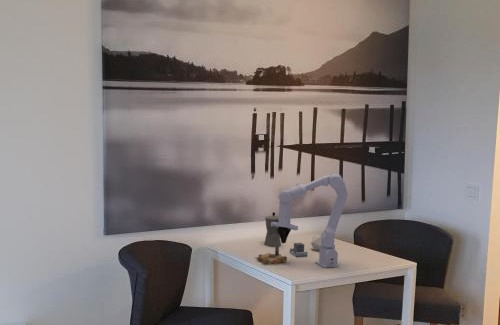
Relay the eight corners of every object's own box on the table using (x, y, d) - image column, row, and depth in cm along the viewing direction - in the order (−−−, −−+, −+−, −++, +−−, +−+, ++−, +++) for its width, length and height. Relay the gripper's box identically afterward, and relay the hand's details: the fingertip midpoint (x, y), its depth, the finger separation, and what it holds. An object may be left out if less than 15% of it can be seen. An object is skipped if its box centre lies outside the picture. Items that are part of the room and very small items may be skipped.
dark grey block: (303, 254, 290) (304, 244, 289) (296, 254, 289) (297, 244, 288) (300, 252, 294) (301, 242, 293) (293, 252, 292) (294, 243, 292)
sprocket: (292, 259, 281) (292, 248, 280) (277, 265, 269) (277, 254, 268) (267, 254, 288) (267, 243, 288) (251, 260, 276) (252, 249, 276)
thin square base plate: (289, 263, 274) (289, 263, 274) (264, 265, 270) (264, 264, 270) (279, 256, 287) (279, 255, 287) (254, 257, 283) (254, 257, 283)
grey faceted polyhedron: (322, 254, 297) (332, 238, 299) (308, 245, 298) (318, 229, 301) (320, 256, 305) (329, 240, 307) (306, 247, 306) (315, 232, 308)
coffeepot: (259, 243, 315) (260, 210, 313) (273, 241, 320) (274, 209, 318) (273, 249, 302) (274, 215, 300) (288, 247, 306) (289, 214, 305)
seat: (307, 256, 288) (307, 252, 288) (296, 257, 286) (296, 252, 286) (300, 252, 297) (300, 247, 297) (289, 252, 295) (289, 248, 295)
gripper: (301, 216, 274) (300, 243, 275) (276, 212, 283) (275, 239, 284) (293, 218, 268) (292, 246, 270) (268, 214, 277) (267, 241, 278)
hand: (283, 242), depth 276 cm, fingers closed
